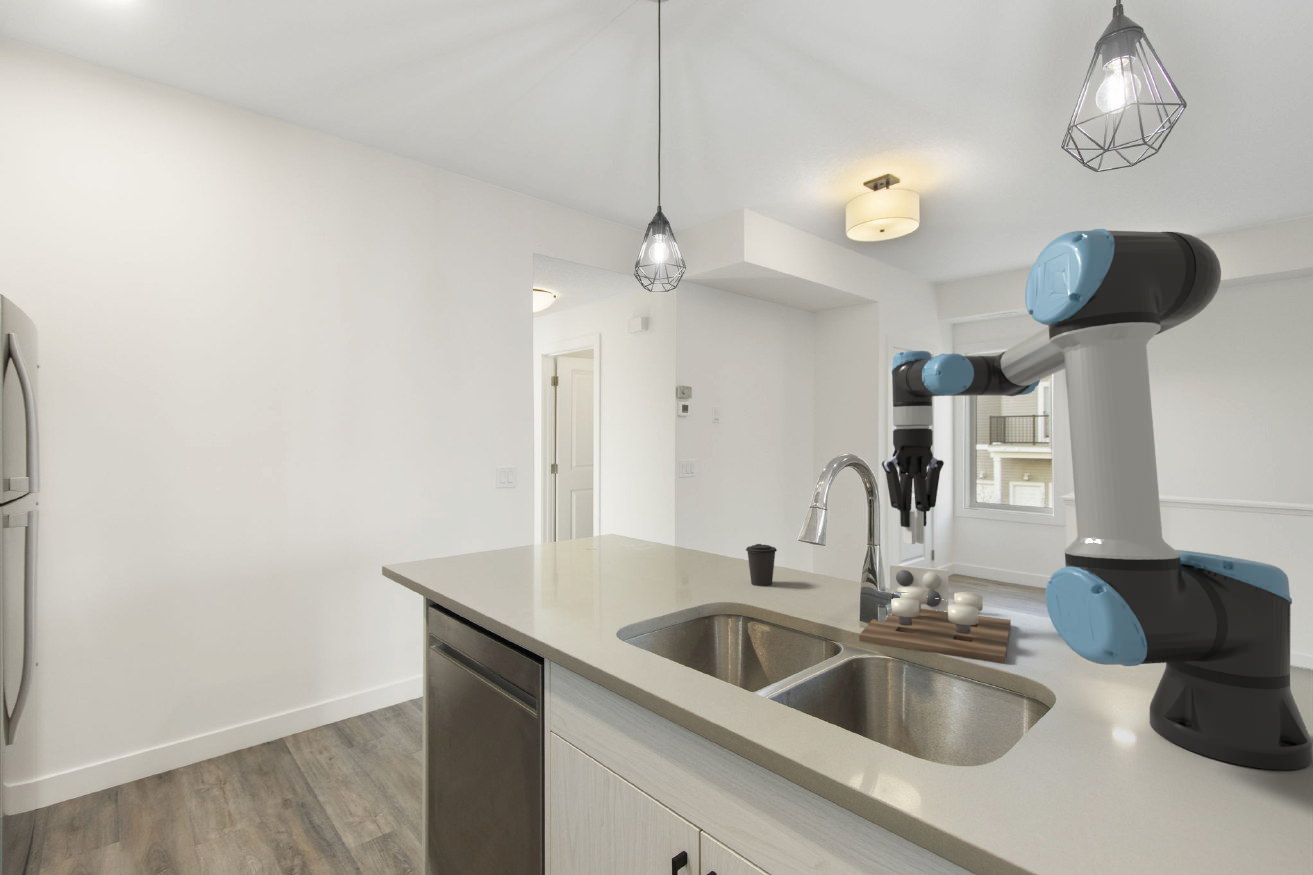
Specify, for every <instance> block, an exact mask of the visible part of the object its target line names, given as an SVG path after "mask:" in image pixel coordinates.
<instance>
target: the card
mask: <svg viewBox="0 0 1313 875" xmlns="http://www.w3.org/2000/svg"><path fill="white" fill-rule="evenodd" d="M902 587H920V588H924V589H926V590H927V596H928V597H927V603H926V604H921V609H928V610H937V611H947V612H948V606H949V605H950V604H949V569H945V568H944V569H942V568H934V567H933V568H932V567H923V566H921V567H920V566H914V565H913V566H910V565H900V564H892V563H891V564H889V591H890V590H894V591H898V592H901V588H902ZM935 598H939V599H935ZM942 599H944V600H942ZM946 600H947V601H946Z"/></svg>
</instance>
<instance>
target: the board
mask: <svg viewBox="0 0 1313 875" xmlns="http://www.w3.org/2000/svg"><path fill="white" fill-rule="evenodd" d="M1011 625H1012V623H1011V619H1008V618H1000V617H991V616H985V615H984V616H983V615H978V624H975V625H970V631H971V633H969V634H962V633H958V632H956V623H953V622H950V621H949V620H948V612H944V611H936V610H928V609H921V612H919V616H917V617H912V625H910V626H905V625H900V624H899V616H897V615H894V614H892V615H888V617H887V620H886V621H885V622H879V621H877V620H876V619H873V618H872V620H871V621H870V622H869V623H868V624H867V625H866V626H865V627H864V628H863V629H862V631H860V633H859V635H858V637H859V642H864V643H870V644H876V645H883V646H888V647H889V646H890V647H895V648H903V649H909V650H916V651H922V652H928V653H935V654H941V655H947V656H954V657H961V658H967V659H973V660H978V661H979V660H980V661H985V662H992V663H999V664H1003V665H1005V664H1006V660H1007V653H1008V652H1007V651H1008V646H1009V639H1010V632H1011V627H1012V626H1011Z"/></svg>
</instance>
